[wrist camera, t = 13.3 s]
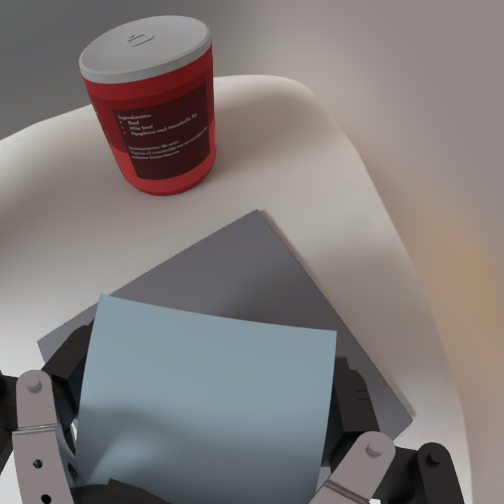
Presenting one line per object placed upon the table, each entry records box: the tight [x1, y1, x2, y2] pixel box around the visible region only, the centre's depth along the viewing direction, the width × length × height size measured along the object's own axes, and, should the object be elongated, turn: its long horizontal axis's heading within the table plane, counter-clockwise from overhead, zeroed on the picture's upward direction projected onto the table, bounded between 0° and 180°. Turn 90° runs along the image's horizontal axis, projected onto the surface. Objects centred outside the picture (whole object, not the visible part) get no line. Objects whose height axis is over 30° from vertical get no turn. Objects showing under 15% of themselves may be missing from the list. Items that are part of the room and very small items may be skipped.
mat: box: [37, 209, 413, 492], centre depth 16 cm, size 18×18×1 cm
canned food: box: [79, 16, 216, 196], centre depth 17 cm, size 8×8×11 cm
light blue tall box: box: [75, 294, 337, 504], centre depth 11 cm, size 6×6×10 cm
